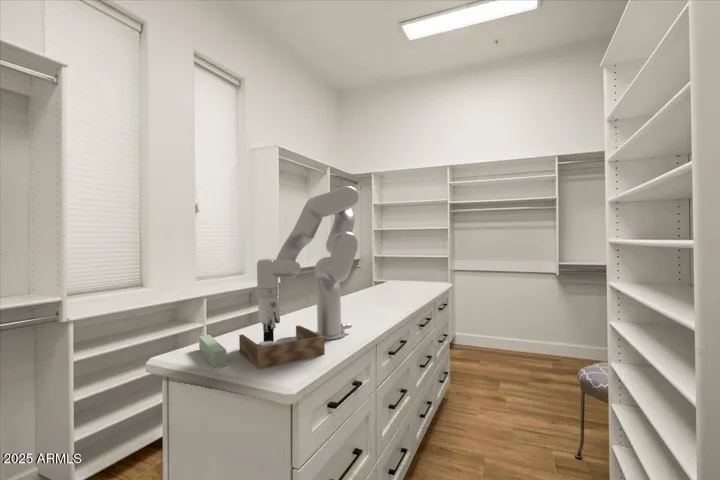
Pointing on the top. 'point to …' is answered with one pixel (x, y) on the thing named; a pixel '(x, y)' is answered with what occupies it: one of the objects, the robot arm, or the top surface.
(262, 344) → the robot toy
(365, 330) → the top surface
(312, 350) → the wooden tray
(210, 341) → the sage green plank
